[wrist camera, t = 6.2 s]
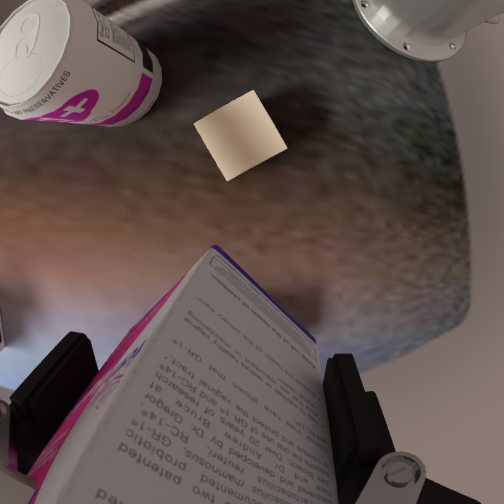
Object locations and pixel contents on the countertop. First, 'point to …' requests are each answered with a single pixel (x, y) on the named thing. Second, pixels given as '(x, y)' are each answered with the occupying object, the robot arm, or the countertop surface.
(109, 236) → the countertop surface
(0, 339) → the container
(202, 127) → the birch block
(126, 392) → the supplement box
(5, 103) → the supplement can
